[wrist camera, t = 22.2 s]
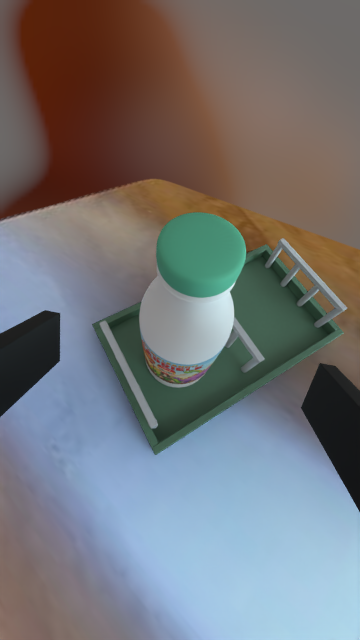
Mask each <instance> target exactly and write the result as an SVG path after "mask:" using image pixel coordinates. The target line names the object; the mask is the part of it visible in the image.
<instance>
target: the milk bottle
mask: <svg viewBox="0 0 360 640" xmlns="http://www.w3.org/2000/svg"><path fill="white" fill-rule="evenodd" d="M156 257H157V274H158V276H157V277H156V278H155V279H154V280H153V282H152V283H151V284H150V285H149V287H148V289H147V290H146V292H145V294H144V297H143V299H142V302H141V307H140V314H139V323H140V333H141V339H142V345H143V350H144V355H145V360H146V364H147V367H148V369H149V371H150V373H151V374H152V375H153V377H154V378H155V379H156V380H158V381H159V382H160V383H162V384H164V385H166V386H170V387H176V388H180V387H186V386H190V385H192V384H194V383H195V382H197V381H198V380H199V379H200V378H201V377H202V376H203V375H204V374H205V373H206V372H207V370H208V369H209V368H210V366H211V365H212V363H213V362H214V361H215V359H216V358H217V356H218V355H219V354H220V352H221V351H222V349H223V347H224V346H225V344H226V342H227V340H228V338H229V336H230V333H231V330H232V327H233V322H234V305H233V300H232V297H231V294H230V291H231V289H232V288H233V286H234V284H235V282H236V280H237V278H238V276H239V275H240V273H241V271H242V268H243V266H244V263H245V259H246V246H245V242H244V239H243V237H242V235H241V234H240V232H239V231H238V230H237V229H236V228H235V227H234V226H233V225H232V224H231V223H229V222H228V221H226V220H225V219H223V218H221V217H218V216H216V215H212V214H208V213H187V214H183V215H180V216H178V217H176V218H174V219H172V220H171V221H169V222H168V223H167V224H166V225H165V226H164V228H163V229H162V231H161V233H160V235H159V237H158V241H157V249H156Z"/></svg>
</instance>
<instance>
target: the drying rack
mask: <svg viewBox="0 0 360 640" xmlns="http://www.w3.org/2000/svg"><path fill="white" fill-rule="evenodd" d="M282 249H283V250H284V251H285V252H286V253H287V255H288V256H289V257H290V258H291V259H292V260H293V261H294V262H295V265H294V267H293V268H292V269H291V270H289V269H288V268H287V267H286V266H285V265H284V264H283V262H282V261H281V260H280V259H279V258H278V257H277V256H278V254H279V253H280V251H281V250H282ZM299 269H301V270H302V271H303V272H304V274H305V275H306V276H307V277H308V278H309V279H310V280H311V281H312V283H313V284H314V286H313V287H312V288H311V289H310V290H309V291H307V290H306V289H305V288H304V286H303V285H302V284H301V283H300V282H299V281H298V280H297V278H296V277H295V276H294V275H295V274H296V273H297V272H298V270H299ZM319 290H320V292H321V293H322V294H323V295H324V296H325V297H326V298H327V299H328V300H329V302H330V303H331V304H332V305H333V306H334V307H335V309H333V310H332V311H330V312H329V313H328V314H327V313H326V312H325V311H324V309H323V308H322V307H321V306H320V305H319V304H318V303H317V301H316V300H315V299H314V298H313V297H312V296H313V295H314V294H316V293H317V292H318V291H319ZM230 294H231V297H232V300H233V305H234V322H233V327H232V330H231V333H230V336H229V338H228V340H227V342H226V344H225V346H224V347H223V349H222V351H221V352H220V354H219V355H218V356H217V358H216V359H215V361H214V362H213V363H212V365H211V366H210V368H209V369H208V370H207V372H206V373H205V374H204V375H203V376H202V377H201V378H200V379H199V380H198V381H197V382H195V383H194V384H192V385H190V386H186V387H180V388H176V387H170V386H166V385H164V384H162V383H160V382H159V381H158V380H156V379H155V378H154V377H153V375H152V374H151V373H150V371H149V369H148V367H147V364H146V360H145V355H144V350H143V345H142V339H141V333H140V323H139V314H140V307H141V302H140V303H137V304H135V305H133V306H131V307H129V308H126V309H124V310H122V311H120V312H118V313H116V314H113V315H111V316H109V317H107V318H105V319H102V320H100V321H98V322H96V323H94V324H92V325H93V327H94V329H95V332H96V334H97V336H98V338H99V340H100V342H101V344H102V346H103V348H104V350H105V352H106V354H107V356H108V358H109V361H110V363H111V365H112V367H113V369H114V371H115V373H116V375H117V377H118V379H119V381H120V383H121V385H122V388H123V390H124V392H125V394H126V396H127V398H128V400H129V402H130V404H131V406H132V408H133V410H134V412H135V415H136V417H137V419H138V421H139V423H140V425H141V427H142V429H143V431H144V433H145V435H146V437H147V439H148V441H149V444H150V446H151V447H152V450H153V452H154V454H155V455H157V454H158V453H160V452H161V451H163V450H164V449H166V448H167V447H169V446H170V445H172V444H174V443H175V442H177V441H178V440H180V439H181V438H183V437H184V436H186V435H187V434H189V433H190V432H192V431H194V430H195V429H197V428H198V427H200V426H201V425H203V424H204V423H206V422H207V421H209V420H211V419H212V418H214V417H215V416H217V415H218V414H220V413H221V412H223V411H224V410H226V409H228V408H229V407H231V406H232V405H234V404H235V403H237V402H238V401H240V400H241V399H243V398H244V397H246V396H248V395H249V394H251V393H252V392H254V391H255V390H257V389H258V388H260V387H261V386H263V385H265V384H266V383H268V382H269V381H271V380H272V379H274V378H275V377H277V376H278V375H280V374H282V373H283V372H285V371H286V370H288V369H289V368H291V367H292V366H294V365H295V364H297V363H298V362H300V361H302V360H303V359H305V358H306V357H308V356H309V355H311V354H312V353H314V352H315V351H317V350H319V349H320V348H322V347H323V346H325V345H326V344H328V343H329V342H331V341H332V340H334V339H336V338H337V337H339V336H340V335H342V334H343V331H342V330H341V329H340V328H339V327H338V325H337V324H336V323H335V322H334V321H333V320H332V318H334V317H335V316H337V315H338V314H340V313H341V312H343V311H344V310H346V309H347V307H346V306H345V305H344V304H343V303H342V302H341V301H340V300H339V298H338V297H337V296H336V295H335V294H334V293H333V292H332V291H331V290H330V289H329V288H328V286H327V285H326V284H325V283H324V282H323V281H322V280H321V279H320V278H319V277H318V275H317V274H316V273H315V272H314V271H313V270H312V269H311V268H310V267H309V266H308V264H307V263H306V262H305V261H304V260H303V259H302V258H301V257H300V256H299V255H298V254H297V252H296V251H295V250H294V249H293V248H292V247H291V246H290V245H289V244H288V243H287V241H286V240H285V239H284V238H283V239H281V240H279V242H278V245H277V246H276V248H275V250H274V251H272V250H271V249H270V247H269V246H268V245H267V244H266V245H264V246H262V247H260V248H257V249H255V250H253V251H251V252H249V253H247V254H246V259H245V263H244V266H243V268H242V271H241V273H240V275H239V276H238V278H237V280H236V282H235V284H234V286H233V288H232V289H231V291H230Z"/></svg>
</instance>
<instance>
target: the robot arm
mask: <svg viewBox="0 0 360 640" xmlns="http://www.w3.org/2000/svg"><path fill="white" fill-rule="evenodd" d="M59 361H60V313H56V312H51V311H46V310H45V311H43V312H41V313H39V314H37V315H35V316H33V317H31V318H30V319H28V320H26V321H24V322H22V323H20V324H18V325H16V326H14V327H12V328H10V329H9V330H7V331H5V332H3V333H1V334H0V417H1V416H2V415H3V414H4V413H5V412H6V411H7V410H8V409H9V408H10V407H11V406H12V405H14V404H15V403H16V402H17V401H18V400H19V399H20V398H21V397H22V396H23V395H24V394H25V393H26V392H27V391H28V390H29V389H31V388H32V387H33V386H34V385H35V384H36V383H37V382H38V381H39V380H40V379H41V378H42V377H43V376H44V375H45V374H46V373H48V372H49V371H50V370H51V369H52V368H53V367H54V366H55V365H56V364H57V363H58V362H59ZM301 409H302V411H303V412H304V414H305V416H306V418H307V419H308V421H309V423H310V425H311V427H312V428H313V430H314V432H315V434H316V435H317V437H318V439H319V441H320V442H321V444H322V446H323V448H324V450H325V451H326V453H327V455H328V457H329V458H330V460H331V462H332V464H333V465H334V467H335V469H336V471H337V473H338V474H339V476H340V478H341V480H342V481H343V483H344V485H345V487H346V488H347V490H348V492H349V494H350V496H351V497H352V499H353V501H354V503H355V504H356V506H357V508H358V510H359V511H360V391H359V390H358V389H357V388H356V387H355V386H354V385H353V384H352V383H351V381H350V380H349V379H348V378H347V377H346V376H345V375H344V374H343V373H342V372H341V371H340V370H339V369H338V368H337V367H336V366H332V365H327V364H322V363H320V364H319V367H318V369H317V371H316V374H315V376H314V378H313V381H312V383H311V385H310V388H309V390H308V392H307V395H306V397H305V399H304V402H303V404H302V407H301Z"/></svg>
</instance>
